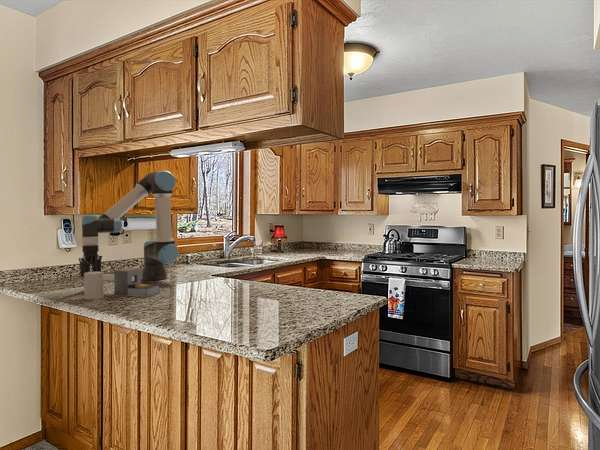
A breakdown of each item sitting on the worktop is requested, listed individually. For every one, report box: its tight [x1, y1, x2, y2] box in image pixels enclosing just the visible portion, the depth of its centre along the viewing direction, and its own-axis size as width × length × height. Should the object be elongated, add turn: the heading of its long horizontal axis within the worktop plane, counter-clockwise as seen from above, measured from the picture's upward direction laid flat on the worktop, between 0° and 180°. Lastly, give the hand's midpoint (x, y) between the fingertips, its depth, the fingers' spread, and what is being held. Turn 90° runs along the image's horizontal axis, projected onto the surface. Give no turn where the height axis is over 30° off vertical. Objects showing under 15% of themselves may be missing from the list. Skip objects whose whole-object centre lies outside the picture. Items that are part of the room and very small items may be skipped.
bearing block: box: [113, 267, 142, 297], centre depth 214 cm, size 10×8×12 cm
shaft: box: [90, 270, 135, 282], centre depth 218 cm, size 4×29×9 cm, turn 72°
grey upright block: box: [83, 271, 104, 300], centre depth 203 cm, size 8×8×12 cm
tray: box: [127, 285, 161, 298], centre depth 211 cm, size 10×11×4 cm
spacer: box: [135, 283, 149, 289], centre depth 212 cm, size 5×4×4 cm
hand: (91, 289), depth 222 cm, fingers closed on shaft, 4 cm apart
